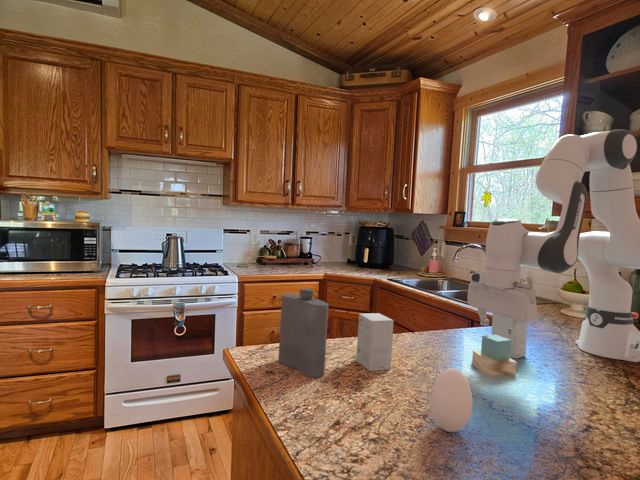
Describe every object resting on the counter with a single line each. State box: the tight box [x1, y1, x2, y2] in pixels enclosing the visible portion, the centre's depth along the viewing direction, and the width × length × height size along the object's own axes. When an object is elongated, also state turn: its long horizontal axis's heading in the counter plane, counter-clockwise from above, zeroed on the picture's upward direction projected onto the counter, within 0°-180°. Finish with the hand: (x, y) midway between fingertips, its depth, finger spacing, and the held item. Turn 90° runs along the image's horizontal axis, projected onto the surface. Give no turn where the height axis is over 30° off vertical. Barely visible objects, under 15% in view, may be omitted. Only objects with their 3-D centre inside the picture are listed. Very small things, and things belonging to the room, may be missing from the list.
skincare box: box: [491, 313, 528, 360], centre depth 122 cm, size 8×6×15 cm
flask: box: [277, 287, 329, 379], centre depth 101 cm, size 15×6×20 cm, turn 44°
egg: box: [429, 367, 473, 433], centre depth 75 cm, size 7×7×12 cm
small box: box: [355, 312, 395, 372], centre depth 106 cm, size 8×6×13 cm
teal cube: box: [480, 334, 511, 360], centre depth 108 cm, size 5×5×5 cm
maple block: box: [471, 350, 517, 377], centre depth 109 cm, size 8×8×4 cm
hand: (498, 330), depth 108 cm, fingers open, 8 cm apart
